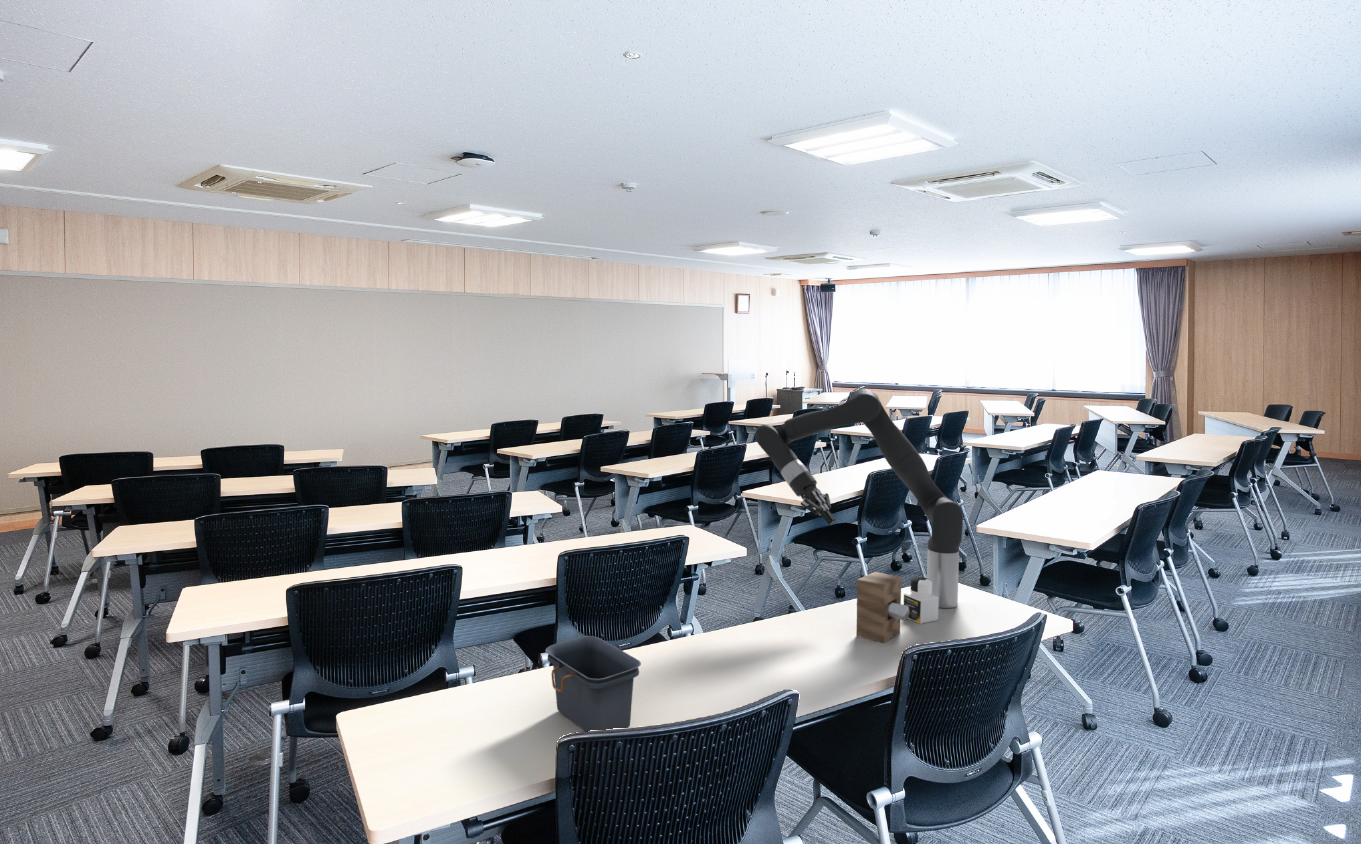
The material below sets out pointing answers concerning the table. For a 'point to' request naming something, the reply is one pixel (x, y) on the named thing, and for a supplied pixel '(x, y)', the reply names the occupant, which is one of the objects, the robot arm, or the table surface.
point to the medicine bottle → (921, 601)
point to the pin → (898, 611)
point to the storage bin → (593, 682)
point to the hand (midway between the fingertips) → (832, 522)
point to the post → (877, 606)
